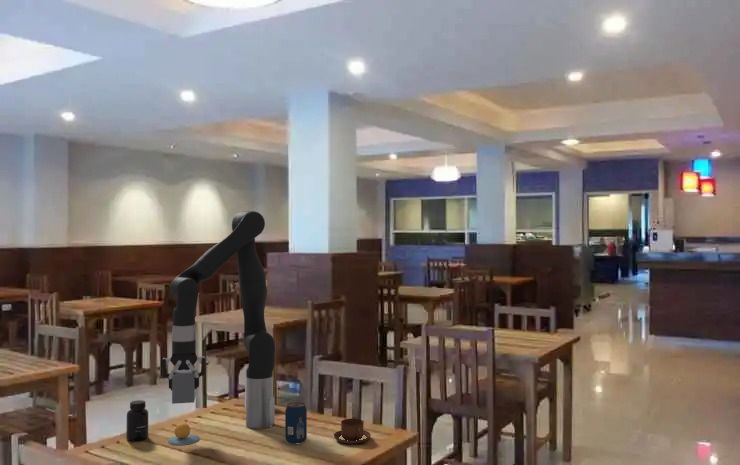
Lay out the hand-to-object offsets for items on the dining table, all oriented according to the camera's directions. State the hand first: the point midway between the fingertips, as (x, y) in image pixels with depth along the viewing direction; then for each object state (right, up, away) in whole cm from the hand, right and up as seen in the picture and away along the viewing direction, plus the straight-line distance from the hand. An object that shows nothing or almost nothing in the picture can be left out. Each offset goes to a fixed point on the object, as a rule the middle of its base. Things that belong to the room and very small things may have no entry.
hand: (184, 389), depth 212 cm
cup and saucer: (+55, -17, +1) cm, 58 cm away
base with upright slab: (+17, -17, +39) cm, 46 cm away
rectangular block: (0, -3, 0) cm, 3 cm away
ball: (-1, -14, +2) cm, 14 cm away
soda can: (+37, -17, -1) cm, 40 cm away
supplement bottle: (-16, -17, +2) cm, 23 cm away
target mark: (0, -17, 0) cm, 17 cm away
